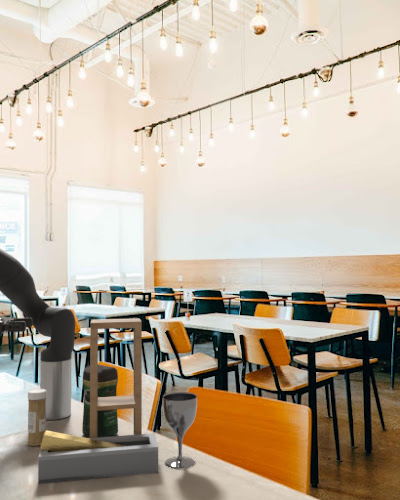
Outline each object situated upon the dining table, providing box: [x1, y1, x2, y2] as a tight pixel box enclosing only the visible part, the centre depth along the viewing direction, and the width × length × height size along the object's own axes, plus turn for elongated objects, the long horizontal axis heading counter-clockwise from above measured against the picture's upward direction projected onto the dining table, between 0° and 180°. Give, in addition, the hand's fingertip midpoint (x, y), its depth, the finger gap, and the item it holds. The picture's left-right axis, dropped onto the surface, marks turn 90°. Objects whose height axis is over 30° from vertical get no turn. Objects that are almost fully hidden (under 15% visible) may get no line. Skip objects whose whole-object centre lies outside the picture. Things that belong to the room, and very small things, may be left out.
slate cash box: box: [37, 432, 159, 485], centre depth 100 cm, size 9×25×6 cm, turn 101°
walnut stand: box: [89, 317, 143, 438], centre depth 110 cm, size 8×12×32 cm, turn 101°
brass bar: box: [39, 429, 125, 452], centre depth 100 cm, size 3×20×3 cm, turn 101°
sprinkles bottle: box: [27, 388, 47, 447], centre depth 117 cm, size 5×5×14 cm
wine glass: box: [162, 391, 198, 470], centre depth 104 cm, size 8×8×15 cm
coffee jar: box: [81, 364, 119, 438], centre depth 123 cm, size 10×8×19 cm
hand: (29, 324), depth 105 cm, fingers open, 8 cm apart
